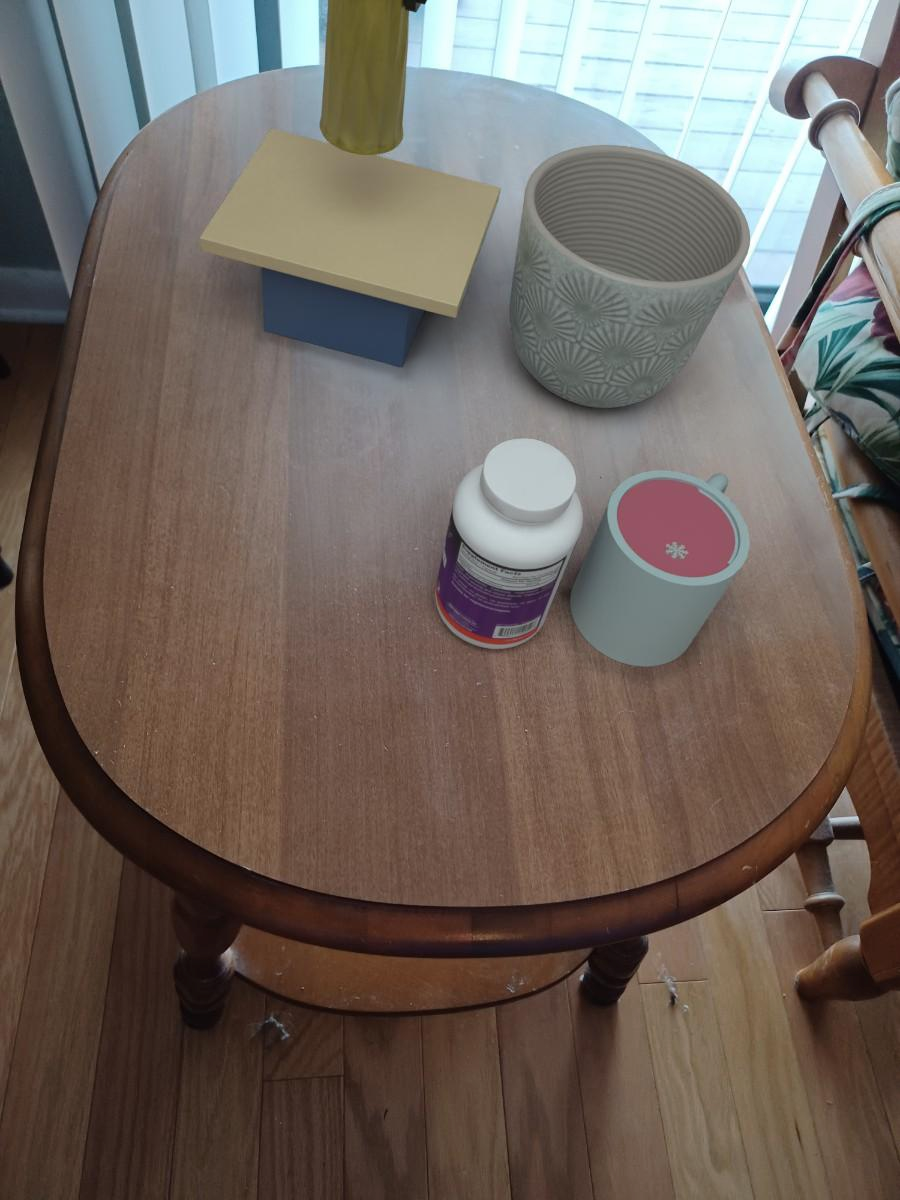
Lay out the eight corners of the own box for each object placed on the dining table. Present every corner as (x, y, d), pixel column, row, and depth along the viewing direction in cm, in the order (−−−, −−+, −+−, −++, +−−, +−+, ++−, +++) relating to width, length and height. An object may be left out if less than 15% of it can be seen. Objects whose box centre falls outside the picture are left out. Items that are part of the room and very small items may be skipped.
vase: (346, 164, 67) (357, -63, 55) (304, 118, 70) (306, -109, 58) (418, 146, 70) (443, -75, 58) (375, 103, 72) (391, -118, 60)
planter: (678, 459, 77) (752, 309, 65) (475, 413, 77) (510, 254, 65) (686, 325, 87) (751, 172, 74) (505, 284, 87) (540, 123, 74)
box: (208, 333, 78) (199, 237, 71) (273, 223, 87) (271, 127, 80) (442, 396, 78) (458, 306, 70) (483, 278, 87) (501, 187, 79)
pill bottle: (472, 542, 70) (507, 400, 58) (565, 598, 68) (621, 464, 56) (410, 615, 66) (434, 478, 54) (508, 677, 64) (555, 550, 52)
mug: (656, 690, 65) (708, 611, 57) (545, 614, 67) (580, 527, 59) (744, 570, 72) (802, 484, 64) (641, 504, 74) (684, 413, 66)
